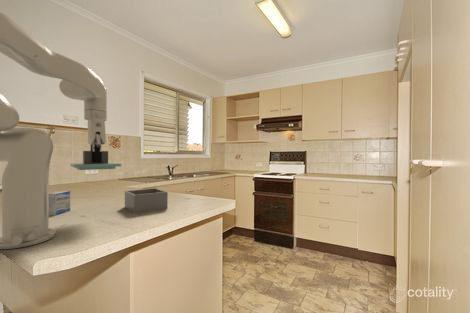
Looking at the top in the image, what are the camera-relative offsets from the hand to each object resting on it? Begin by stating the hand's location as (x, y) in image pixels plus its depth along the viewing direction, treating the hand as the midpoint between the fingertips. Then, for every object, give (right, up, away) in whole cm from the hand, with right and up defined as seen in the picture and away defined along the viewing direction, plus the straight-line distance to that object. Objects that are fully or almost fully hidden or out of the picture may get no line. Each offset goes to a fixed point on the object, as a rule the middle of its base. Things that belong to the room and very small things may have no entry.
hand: (95, 161), depth 87 cm
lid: (0, -2, 0) cm, 2 cm away
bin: (+16, -22, +11) cm, 29 cm away
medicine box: (-18, -22, +4) cm, 29 cm away
